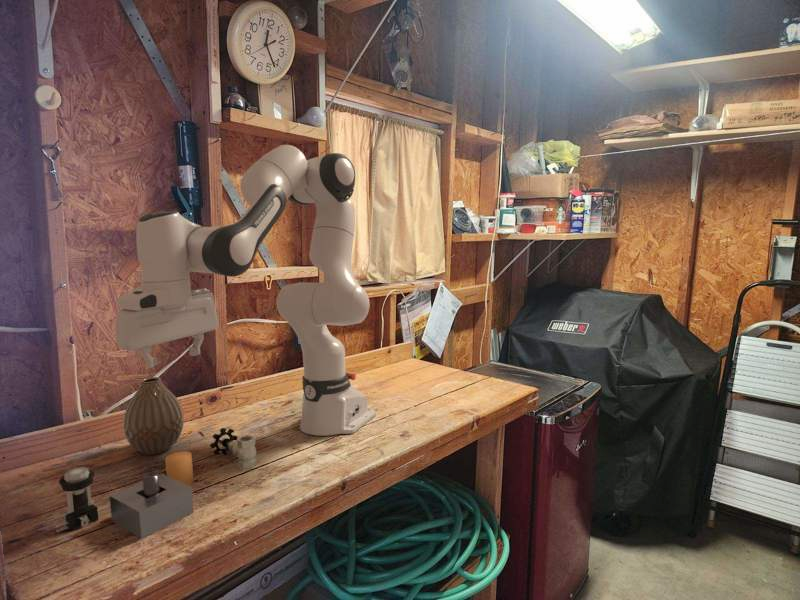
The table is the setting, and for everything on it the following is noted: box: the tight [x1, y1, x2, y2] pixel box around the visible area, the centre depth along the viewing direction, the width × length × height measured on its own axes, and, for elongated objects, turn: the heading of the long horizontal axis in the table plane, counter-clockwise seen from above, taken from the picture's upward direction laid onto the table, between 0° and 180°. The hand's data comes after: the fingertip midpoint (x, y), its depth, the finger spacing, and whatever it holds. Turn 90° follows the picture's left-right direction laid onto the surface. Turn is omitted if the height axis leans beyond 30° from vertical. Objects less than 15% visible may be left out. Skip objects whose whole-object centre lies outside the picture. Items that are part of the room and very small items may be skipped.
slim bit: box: [142, 472, 160, 499], centre depth 92 cm, size 3×3×8 cm
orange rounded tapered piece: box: [164, 451, 194, 486], centre depth 104 cm, size 5×5×6 cm
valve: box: [209, 427, 257, 471], centre depth 114 cm, size 7×7×12 cm
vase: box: [122, 376, 185, 455], centre depth 121 cm, size 13×13×18 cm
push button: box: [55, 466, 99, 533], centre depth 89 cm, size 7×5×10 cm
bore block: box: [109, 472, 194, 540], centre depth 92 cm, size 10×10×5 cm
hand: (174, 361), depth 101 cm, fingers open, 8 cm apart
